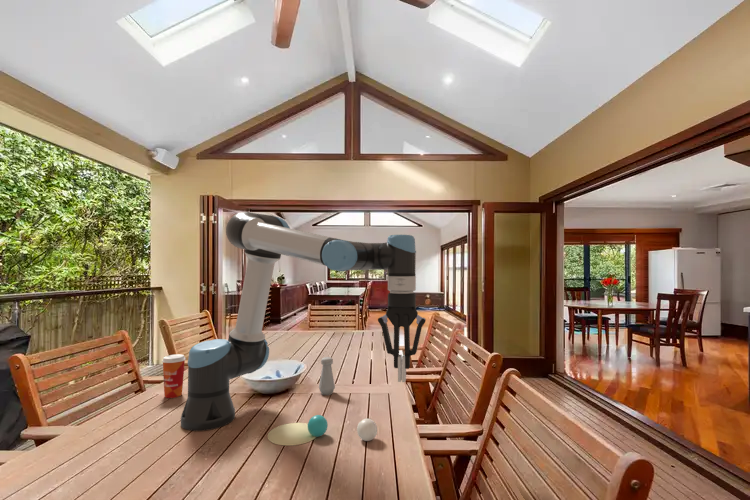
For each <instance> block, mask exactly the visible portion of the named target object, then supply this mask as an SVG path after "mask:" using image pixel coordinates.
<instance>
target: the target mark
mask: <svg viewBox="0 0 750 500" xmlns="http://www.w3.org/2000/svg"><path fill="white" fill-rule="evenodd" d="M315 439H317V437H315V436H312V435H311V434H310V433H309V431H308V422H307V423H305V422H291V423H286V424H281V425H279V426H278V425H277V427H276V426H275V427H274V428H273V429H271V430H269V432H268V434H267V440H268V441H269V442H270V443H272V444H273V445H279V446H287V447H289V446H291V447H292V446H299V445H304V444H307V443H309V442H312V441H313V440H315Z"/></svg>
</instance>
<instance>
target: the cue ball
mask: <svg viewBox="0 0 750 500" xmlns="http://www.w3.org/2000/svg"><path fill="white" fill-rule="evenodd" d="M356 433H357V436H358V437H359V438H360V439H361V440H362V441H364V442H368V441H373V440H374V439H375V437H376V436H377V433H378V426H377V423H375V421H374V419H371V418H363V419H362V420H360V421H359V422H358V424H357V427H356Z"/></svg>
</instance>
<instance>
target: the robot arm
mask: <svg viewBox="0 0 750 500" xmlns="http://www.w3.org/2000/svg"><path fill="white" fill-rule="evenodd" d="M225 235H226V238H227V240H228V242H230V244H231V245H232V246H234V247H235V248H238V249H240V250H244V254H245V255H246V257H247V263H246V268H245V273H244V279H243V284H242V285H243V286H242V291H241V296H240V300H239V301H240V302H239V306H238V312H237V318H236V322H235V323H236V324H235V327H234V328H233V329H232V330H230V332H229V335H228V339H225V338H224V339H223V338H216V339H215V338H214V339H212V340H210V339H209V340H204V341H201V342H199V343H197V344H196V343H195V345H193V346H192V347H191V348H190V350H189V352H188V360H187V367H188V368H187V380H188V381H187V399H186V402H185V403H184V404H185V405H184V406H183V410H182V413H181V416H180V427H181V428H182V429H184V430H187V431H193V432H194V431H195V432H199V431H210V430H215V429H218V428H221V427H224V426H226V425H228V424H230V423H232V422H233V421H234V420H235V418H236V409H235V406H234V403H233V400H232V396H231V393H230V381H231V380H233V379H235V378H238V377H242V376H244V375H248V374H252V373H254V372H256V371H258V370H260V369H262V368H263V367H264V366H265V365H266V363H267V362H268V359H269V356H270V347H269V346H268V341H267V340H266V335H265V333H264V332H263V325H264V320H265V315H266V310H267V305H268V300H269V296H270V295H269V294H270V290H271V289H270V288H271V284H272V279H273V276H274V275H273V273H274V267H275V263H276V262H278V261H279V260H281V257H282V256H286V257H290V258H295V259H298V260H303V261H306V262H311V263H315V264H319V265H323V266H325V267H327V268H328V269H329V270H332V271H336V272H337V271H338V272H346V271H376V270H377V271H380V270H381V271H382V270H383V271H387V291H389V292H388V293H387V310H386V312H385V314H384V315H382V316H379V318H377V321H378V323H379V325H380V327H381V331H382V335H383V339H384V344H385V349H386V352H387V354H389V355H392V356H393V368H394V369H397V383H401V382H402V383H406V380H407V370H409V369H410V367H411V356H415V355H416V354H417V351H418V347H419V342H420V338H421V334H422V328H423V326H424V324H425V323H426V320H427V319H426V318H425V317H422V316H421V315H420V314H418V311H417V305H416V303H417V299H416V298H417V295H416V293H415V291H416V289H417V287H416V286H417V283H416V281H417V280H416V278H417V277H416V261H417V260H416V259H417V258H416V256H417V250H416V238H415V236H413V235H411V234H391V235H388V236H387V240H386V242H360V241H351V240H350V241H349V240H345V239H340V238H337V237H331V236H326V235H323V234H322V235H321V234H316V233H313V232H307V231H303V230H298V229H294V228H291V227H290V226H289V224H288V223H287V221H286V220H285V219H283V218H282V217H279V216H275V215H270V214H262V213H255V212H248V211H242V212H238V213H236V214H234V215H233V216H232V217H230V218H229V220H228V221H227V223H226V227H225ZM388 320H389V322H390V323H391V324H392V326H393V344H392V341H391V337H390V331H389V328H388V327H389V326H388ZM415 320H416V324H417V326H416V330H415V335H414V340H413V342H412V343H413V344H412V348H411V334H410V330H411V329H410V328H411V325H413V322H415ZM401 327H402V328H403V337H404V338H403V339H404V340H403V341H404V342H403V344H404V354H403V355H402V354H400V328H401Z"/></svg>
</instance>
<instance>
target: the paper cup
mask: <svg viewBox="0 0 750 500" xmlns="http://www.w3.org/2000/svg"><path fill="white" fill-rule="evenodd" d="M185 361H186V357H185V355H184V354H179V353H177V354H170V355H166V356H164V357H163V358H162V360H161V362H162V369H163V370H162V372H163V373H162V374H163V392H164V398H166V399H175V398H178V397H181V396H182V394H183V389H184V388H183V387H184V385H183V384H184V375H185V374H184V373H185Z"/></svg>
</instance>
